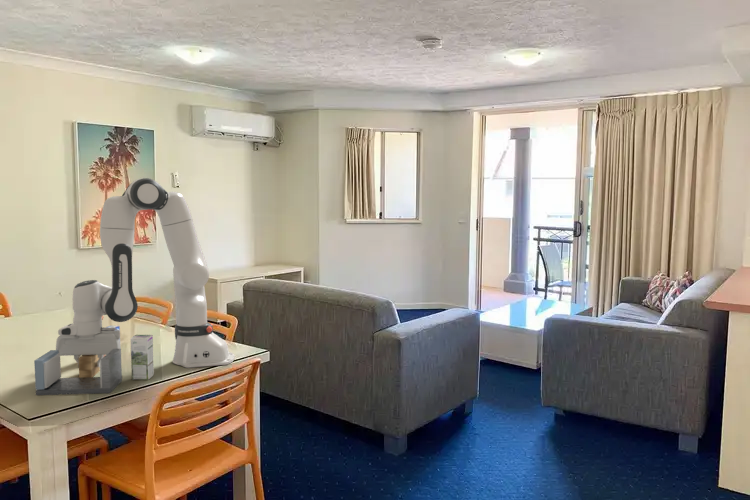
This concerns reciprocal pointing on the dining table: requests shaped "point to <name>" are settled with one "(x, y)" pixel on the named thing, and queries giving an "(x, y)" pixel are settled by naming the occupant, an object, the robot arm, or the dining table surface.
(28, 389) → the dining table surface
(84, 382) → the vise
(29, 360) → the dining table surface
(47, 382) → the vise jaw
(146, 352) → the syrup box
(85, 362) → the wooden block
